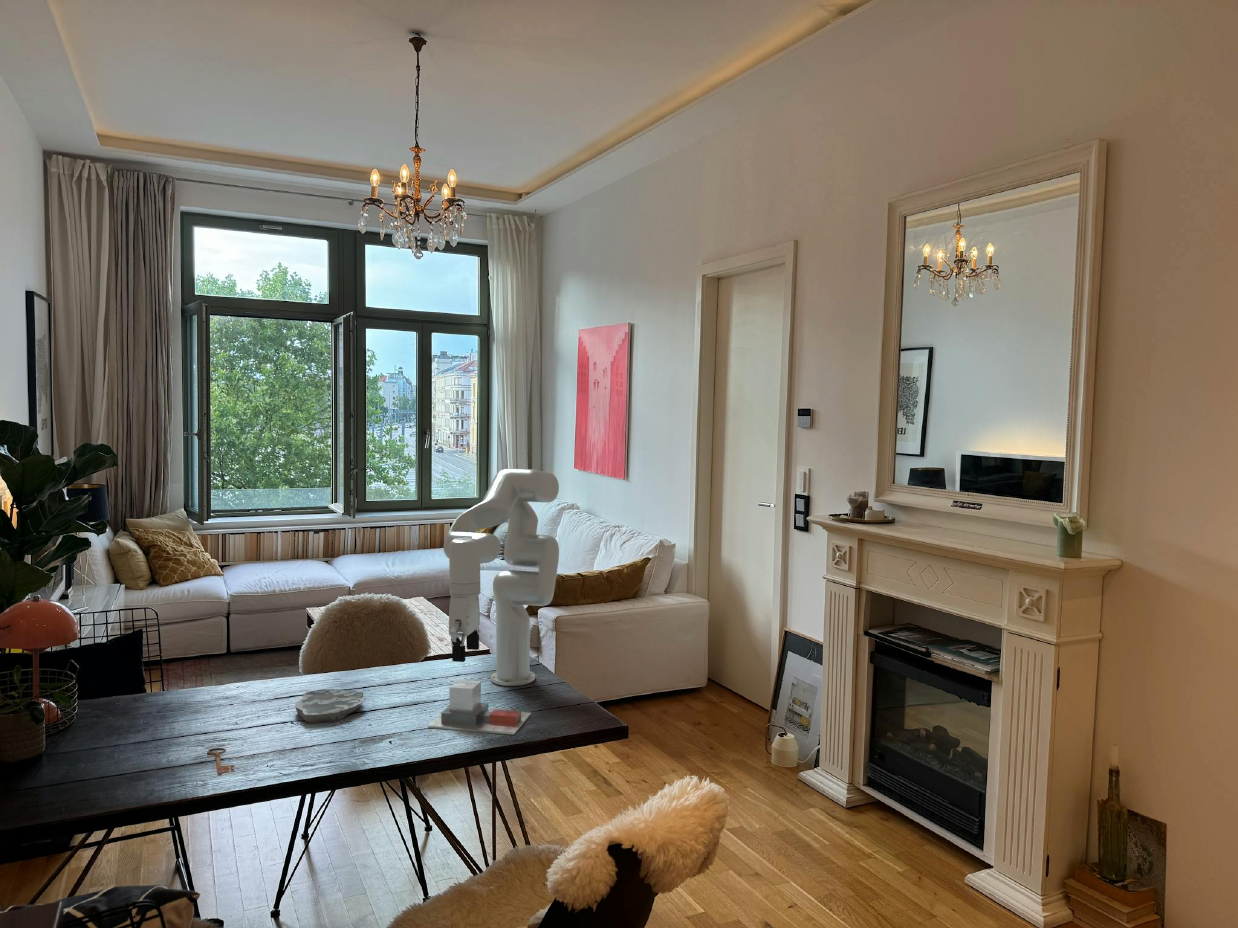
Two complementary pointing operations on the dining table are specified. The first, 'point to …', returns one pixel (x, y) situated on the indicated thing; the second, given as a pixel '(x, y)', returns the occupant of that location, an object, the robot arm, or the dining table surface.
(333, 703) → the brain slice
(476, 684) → the light grey cube
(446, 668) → the dining table surface
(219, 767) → the key
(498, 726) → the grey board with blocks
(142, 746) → the dining table surface
